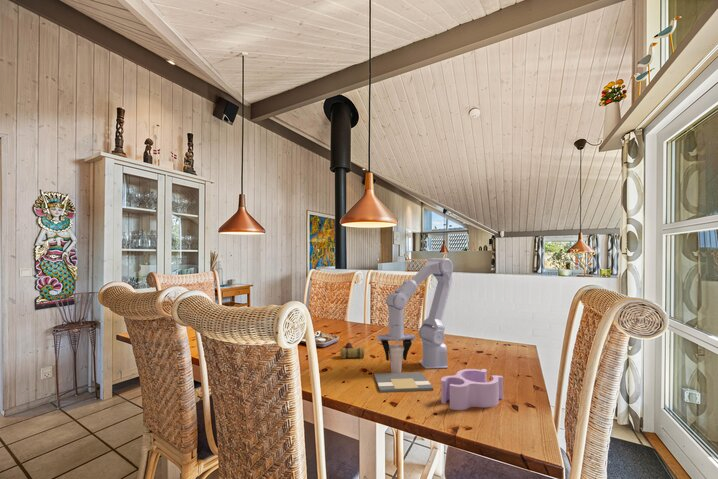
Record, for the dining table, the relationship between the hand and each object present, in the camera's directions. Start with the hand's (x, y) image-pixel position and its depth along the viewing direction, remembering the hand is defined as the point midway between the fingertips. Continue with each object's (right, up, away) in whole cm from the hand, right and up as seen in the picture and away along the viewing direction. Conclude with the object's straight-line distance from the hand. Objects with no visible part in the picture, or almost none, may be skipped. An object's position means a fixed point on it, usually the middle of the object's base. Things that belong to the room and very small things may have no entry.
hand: (396, 359), depth 122 cm
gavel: (-18, -6, +25) cm, 31 cm away
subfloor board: (+1, -4, -10) cm, 11 cm away
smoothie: (0, -5, 0) cm, 5 cm away
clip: (+21, -4, -23) cm, 31 cm away
